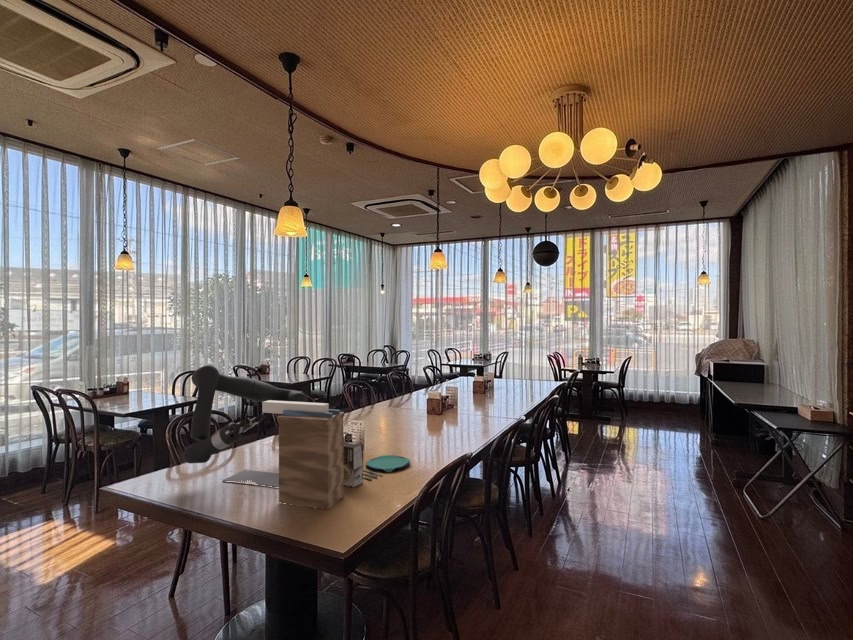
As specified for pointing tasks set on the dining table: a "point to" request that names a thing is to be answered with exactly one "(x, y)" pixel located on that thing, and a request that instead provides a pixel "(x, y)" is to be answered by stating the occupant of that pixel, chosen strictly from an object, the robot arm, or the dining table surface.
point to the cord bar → (293, 406)
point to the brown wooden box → (311, 458)
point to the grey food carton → (352, 464)
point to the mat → (256, 477)
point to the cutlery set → (386, 464)
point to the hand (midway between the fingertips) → (256, 417)
